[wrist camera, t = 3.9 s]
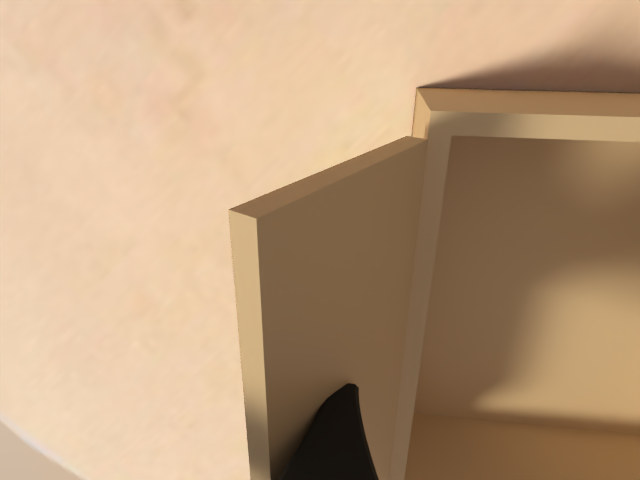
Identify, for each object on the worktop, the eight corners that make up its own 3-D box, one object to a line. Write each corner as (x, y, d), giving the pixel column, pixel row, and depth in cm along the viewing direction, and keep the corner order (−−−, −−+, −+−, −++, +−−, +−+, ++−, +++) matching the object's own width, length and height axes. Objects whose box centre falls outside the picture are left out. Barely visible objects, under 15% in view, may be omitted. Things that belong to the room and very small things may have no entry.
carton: (669, 436, 21) (739, 536, 17) (384, 410, 22) (386, 497, 18) (834, 98, 14) (1014, 128, 10) (416, 87, 16) (430, 110, 12)
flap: (255, 219, 7) (228, 209, 7) (280, 660, 13) (264, 644, 13) (427, 139, 12) (406, 136, 12) (387, 487, 18) (374, 479, 18)
